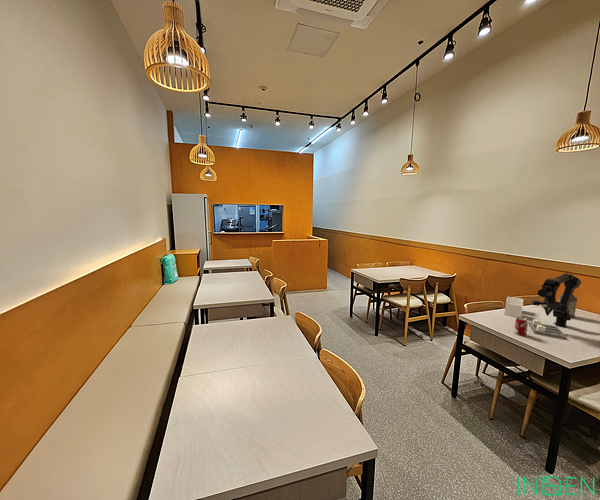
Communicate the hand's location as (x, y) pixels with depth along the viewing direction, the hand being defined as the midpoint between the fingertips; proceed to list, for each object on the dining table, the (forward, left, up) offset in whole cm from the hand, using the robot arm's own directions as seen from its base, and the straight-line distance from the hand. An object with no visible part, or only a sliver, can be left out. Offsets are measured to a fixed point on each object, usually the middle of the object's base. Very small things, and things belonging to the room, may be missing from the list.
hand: (547, 315), depth 185 cm
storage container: (-28, -15, -11) cm, 34 cm away
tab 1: (0, -5, -9) cm, 11 cm away
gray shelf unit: (+6, -1, -11) cm, 12 cm away
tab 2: (+12, -5, -9) cm, 16 cm away
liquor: (-45, +22, -11) cm, 51 cm away
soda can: (+23, -18, -11) cm, 31 cm away
